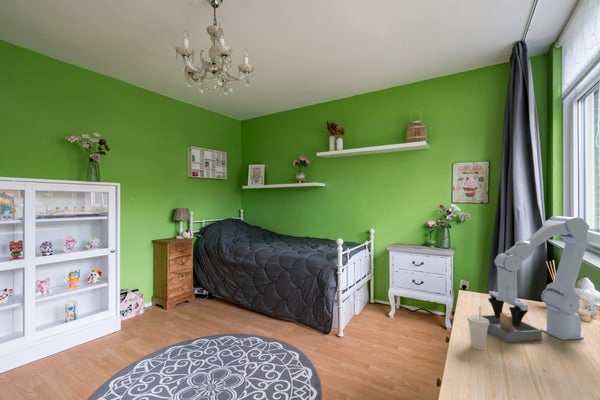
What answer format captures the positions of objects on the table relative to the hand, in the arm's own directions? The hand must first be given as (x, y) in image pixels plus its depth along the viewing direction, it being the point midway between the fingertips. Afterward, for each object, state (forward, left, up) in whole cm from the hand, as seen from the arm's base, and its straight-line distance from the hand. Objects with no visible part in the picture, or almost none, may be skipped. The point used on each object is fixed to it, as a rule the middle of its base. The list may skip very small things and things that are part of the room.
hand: (507, 321), depth 103 cm
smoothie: (+19, +8, -4) cm, 21 cm away
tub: (0, 0, -4) cm, 4 cm away
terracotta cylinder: (0, 0, -3) cm, 3 cm away
